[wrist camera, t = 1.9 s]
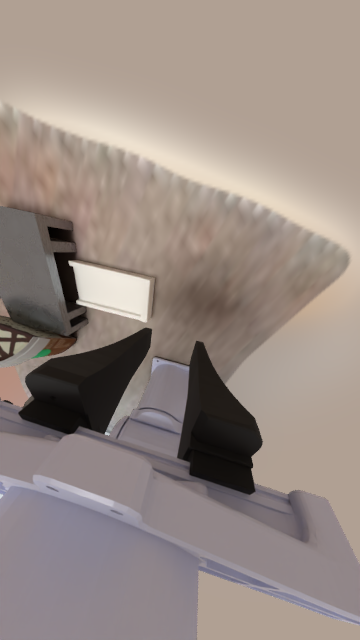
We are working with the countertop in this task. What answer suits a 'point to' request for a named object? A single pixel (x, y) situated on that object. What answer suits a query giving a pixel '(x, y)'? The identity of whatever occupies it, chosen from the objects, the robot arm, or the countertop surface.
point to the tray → (114, 290)
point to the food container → (28, 342)
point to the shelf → (35, 272)
